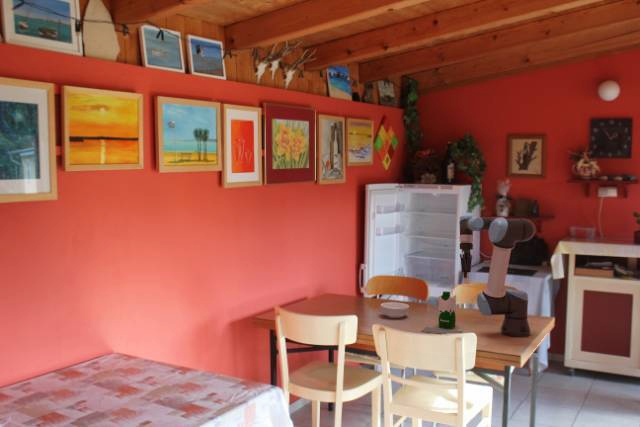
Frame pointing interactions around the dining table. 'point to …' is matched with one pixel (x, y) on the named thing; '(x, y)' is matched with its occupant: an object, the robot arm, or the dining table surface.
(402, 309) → the cereal bowl
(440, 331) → the mat
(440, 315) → the soya milk
